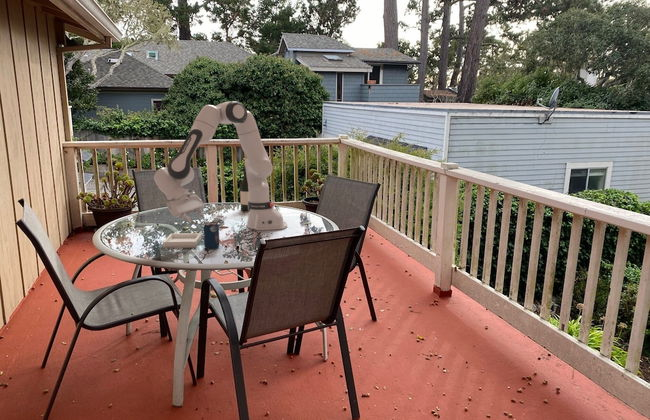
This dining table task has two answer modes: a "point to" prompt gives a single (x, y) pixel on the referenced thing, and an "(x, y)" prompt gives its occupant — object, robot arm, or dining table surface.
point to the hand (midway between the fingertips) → (196, 219)
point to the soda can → (211, 235)
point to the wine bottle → (244, 192)
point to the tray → (182, 240)
